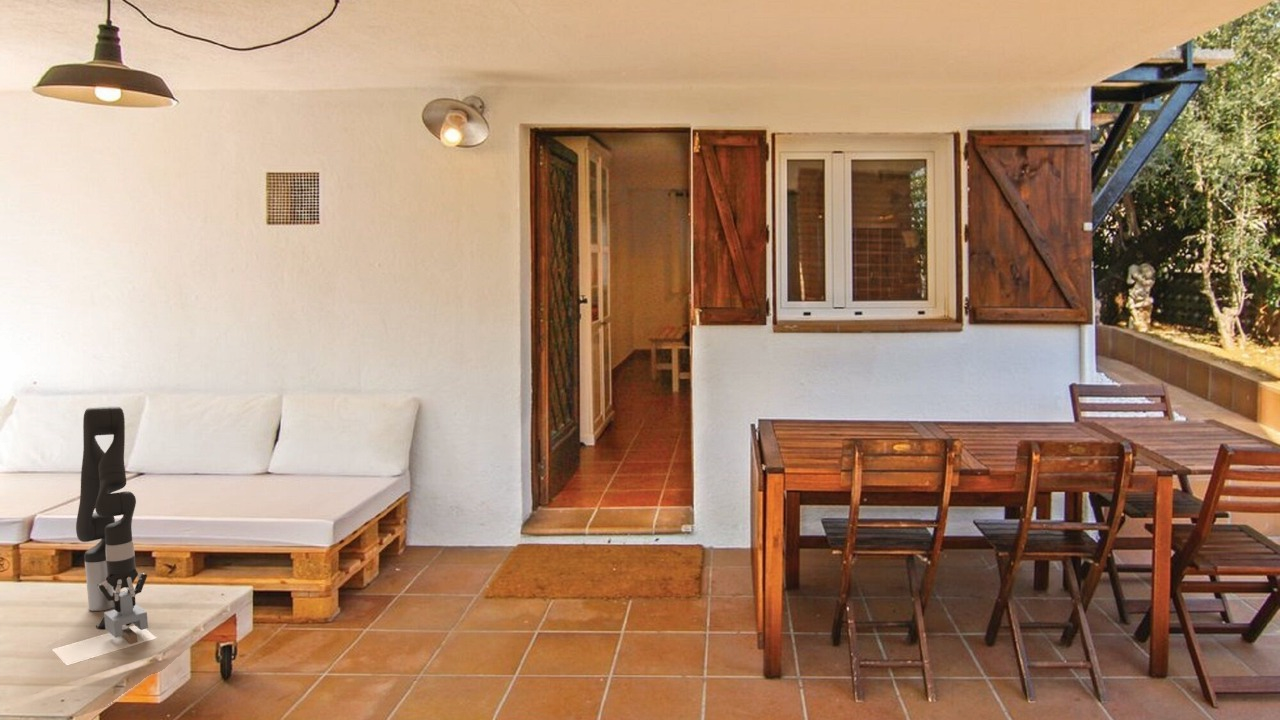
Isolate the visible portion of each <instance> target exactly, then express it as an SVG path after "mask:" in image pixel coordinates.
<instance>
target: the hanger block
mask: <svg viewBox="0 0 1280 720" xmlns="http://www.w3.org/2000/svg"><path fill="white" fill-rule="evenodd" d="M119 600H120V609H121V612H117V611H115V610H114V609H112V610H111V609H110V610H109V611H105V612H103V618H104V619H105V629H104V630H106V631H107V632H108V633H111V634H112V635H113V636H114V637H115V638H116V637H119V636H123V632H122V625H125V624H129V623H132V624H133V626H134V625H135V626H137V627H138V628H139V629H140V630H143V629H148V628H149V623H148V612H147V610H145V609H144V608H142V607H141V606H140V605H138V604H137V603H136V604H135V606H134V608H133V603H132V594H131V593H129V592H128V590H124V591H123V590H121V591H120V594H119Z"/></svg>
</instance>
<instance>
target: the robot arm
mask: <svg viewBox="0 0 1280 720" xmlns="http://www.w3.org/2000/svg"><path fill="white" fill-rule="evenodd" d="M125 420H126V419H125V413H124V410H123V409H122V408H121V407H120V406H114V405H113V406H93V407H88V408H86V409H85V410H84V414H83V420H82V421H83V424H82V425H83V426H82V427H83V429H82V430H83V431H82V433H83V437H82V438H83V439H82V441H83V447H82V448H83V449H82V451H83V452H82V463H81V469H80V470H81V471H80V496H79V497H80V498H79V504H78V511H77V516H76V522H75V531H76V537H77V539H78V540H79V541H80V542H83V543H87V542H93V541H97V540H100V541H99V542H98V543H97V544H96V545H94V546H92V547H91V548H89V549H87V550H86V551H85V552H84V554H83V559H84V569H85V570H84V571H85V578H86V579H85V580H86V591H87V601H88V610H89V611H92V612H99V611H101V612H102V611H105V610H106V611H107V610H111V609H113V610H115V611H117V612H121V609H120V600H119V594H120V592H121V591H122V589H124V588H126V589H127V591H128V592H129V593H131V594H132V603H133V608H134V606H135V604H137V603H136V595H138V594H141V593H142V590H143V588H144V585H145V583H146V580H147V578H148V575H147V573H145V572H138V570H137V568H136V555H135V553H136V550H135V545H134V541H133V533H132V523H133V517H134V512H135V508H136V506H137V505H136V504H137V499H136V496H135V494H134V493H133V492H132V491H127V490H126V491H121V492H117V491H120V490H122V489H123V488H125V487H126V485H127V474H126V468H125V438H126V436H125V435H126V432H125V429H126V425H125V423H126V422H125ZM108 435H110V436H113V437H112V441H111V443H110V445H109V447H108V449H106V451H105V452H104V450H103V449H102V448H101V446H100V444H99V443H98V441H97V439H96V437H97V436H108ZM118 516H122V517H121V518H120V519H119V520H117V521H116V519H115V517H118ZM136 579H137V582H136V584H135V588H134V584H133V583H134V582H135V580H136Z"/></svg>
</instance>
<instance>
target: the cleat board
mask: <svg viewBox="0 0 1280 720" xmlns="http://www.w3.org/2000/svg"><path fill="white" fill-rule="evenodd" d="M122 632H123V636H119V637H116V638H115V637H114V636H113V635H112V634H111V633H110V632H107V633H104V634H101V635H97V636H94V637H93V636H92V637H90V638H87V639H84V640H80V641H77V642H73V643H68V644H66V645H63V646H59V647H55V648H52V649H51V650H52V651H53V652H54V653H55V655H56V656H57V657H58V658H59V659H60V660H61V662H63V664H65V666H71V665H73V664H77V663H81V662H83V661H87V660H90V659H92V658H96V657H99V656H104V655H106V654H110V653H113V652H116V651H120V650H123V649H126V648H129V647H133V646H136V645H140V644H143V643H146V642H150V641H153V640H156V639H157V636H155V635H154V634H153V633H152V632H150V631H149V630H148V628H146V629H143V630H140V629H139V628H138V627H137V626H135V625H134V624H133V625H131V626H129V625H128V626H127V625H122Z"/></svg>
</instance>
